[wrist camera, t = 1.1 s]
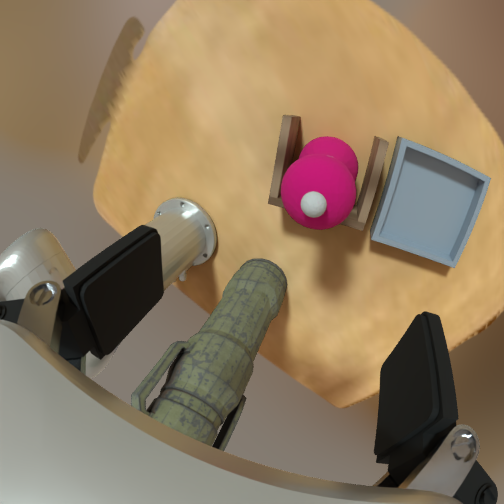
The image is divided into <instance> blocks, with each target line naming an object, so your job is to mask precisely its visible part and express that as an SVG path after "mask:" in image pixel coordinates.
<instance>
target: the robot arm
mask: <svg viewBox="0 0 504 504" xmlns="http://www.w3.org/2000/svg"><path fill="white" fill-rule="evenodd" d="M216 241H217V236H216V230H215V227H214V224H213V222H212V220H211V218H210V217H209V215H208V214H207V212H206V211H205V210H204V209H203V208H202V207H201V206H199V205H198V204H197V203H195V202H193V201H191V200H189V199H185V198H172V199H169V200H167V201H165V202H164V203H162V204H161V205H160V206H159V207H158V209H157V210H156V212H155V215H154V219H153V220H152V221H150V222H149V223H147V224H146V225H141V226H139V227H137V228H136V229H134V230H133V231H131V232H130V233H128V234H127V235H125V236H124V237H122V238H121V239H119V240H118V241H116V242H115V243H114V244H112V245H111V246H109V247H108V248H106V249H105V250H104V251H102V252H101V253H99V254H98V255H96V256H95V257H94V258H92V259H91V260H89V261H88V262H87V263H85V264H84V265H82V266H81V267H80V268H78V269H77V270H76V269H75V267H74V266H73V264H72V263H71V261H70V259H69V258H68V256H67V254H66V253H65V251H64V249H63V248H62V246H61V244H60V243H59V241H58V240H57V238H56V237H55V236H54V234H52V232H50V231H49V230H47V229H43V228H38V229H34V230H31V231H29V232H27V233H26V234H24V235H22V236H21V237H19V238H18V239H17V240H16V241H14V242H13V243H12V244H11V245H10V246H9V247H8V248H7V249H6V250H5V251H4V252H3V253H2V254H1V255H0V504H496V502H497V497H498V492H497V487H496V485H495V483H494V482H493V481H492V480H491V478H490V477H489V476H488V474H487V473H486V472H485V471H484V469H483V468H482V467H481V465H480V464H479V463H478V462H477V460H476V459H477V456H478V454H479V447H480V446H479V439H478V437H477V434H476V433H475V431H474V430H473V429H472V428H471V427H469V426H467V425H458V426H456V420H458V409H457V401H456V393H455V386H454V380H453V374H452V368H451V363H450V358H449V353H448V349H447V344H446V340H445V336H444V332H443V328H442V324H441V320H440V317H439V316H438V315H436V314H432V313H429V312H426V311H425V312H423V313H422V314H421V315H420V314H418V315H417V316H416V317H415V318H414V320H413V322H412V323H411V325H410V326H409V328H408V329H407V331H406V332H405V334H404V335H403V337H402V338H401V340H400V341H399V342H398V344H397V345H396V347H395V348H394V350H393V351H392V352H391V354H390V355H389V356H388V358H387V359H386V360H385V362H384V363H383V365H382V368H381V372H380V393H379V409H378V422H377V430H376V439H375V447H374V453H375V455H377V460H376V463H383V464H389V465H388V472H386V474H385V475H383V476H382V477H381V478H380V479H379V480H378V481H377V482H376V483H375V484H374V485H373V486H365V485H356V484H348V483H342V482H334V481H328V480H323V479H318V478H313V477H307V476H303V475H299V474H295V473H290V472H286V471H282V470H279V469H275V468H272V467H268V466H265V465H262V464H258V463H255V462H252V461H249V460H246V459H243V458H240V457H237V456H235V455H232V454H229V453H227V452H224V451H221V450H219V449H216V448H214V447H211V446H209V445H207V444H204V443H202V442H200V441H197V440H195V439H193V438H191V437H189V436H186V435H184V434H182V433H180V432H178V431H176V430H174V429H172V428H170V427H168V426H166V425H164V424H162V423H160V422H158V421H157V420H155V419H153V418H151V417H149V416H148V415H146V414H144V413H142V412H141V411H139V410H137V409H135V408H134V407H132V406H130V405H129V404H127V403H126V402H124V401H122V400H121V399H119V398H118V397H116V396H115V395H113V394H112V393H110V392H108V391H107V390H105V389H104V388H103V387H101V386H100V385H98V384H97V383H96V382H94V381H93V380H91V379H92V378H94V377H95V376H97V375H98V374H99V373H101V371H102V370H103V369H104V368H105V367H106V366H107V364H108V363H109V361H110V360H111V358H112V357H113V355H114V353H115V352H116V350H117V348H118V346H119V345H120V343H121V341H122V340H123V339H124V338H125V337H126V336H127V335H128V334H129V333H130V332H131V331H132V329H133V328H134V327H135V326H136V325H137V324H138V323H139V322H140V321H141V320H142V319H143V318H144V316H145V315H146V314H147V313H148V312H149V311H150V310H151V309H152V308H153V307H154V306H155V305H156V303H158V301H159V300H160V299H161V298H162V296H163V293H164V290H166V288H168V287H169V286H170V285H171V284H172V283H173V282H175V281H176V278H177V277H178V276H179V280H180V281H185V280H186V271H187V270H188V269H189V268H190V267H191V266H195V265H200V264H202V263H204V262H205V261H207V260H208V259H209V258H210V257H211V255H212V254H213V252H214V250H215V247H216Z"/></svg>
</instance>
